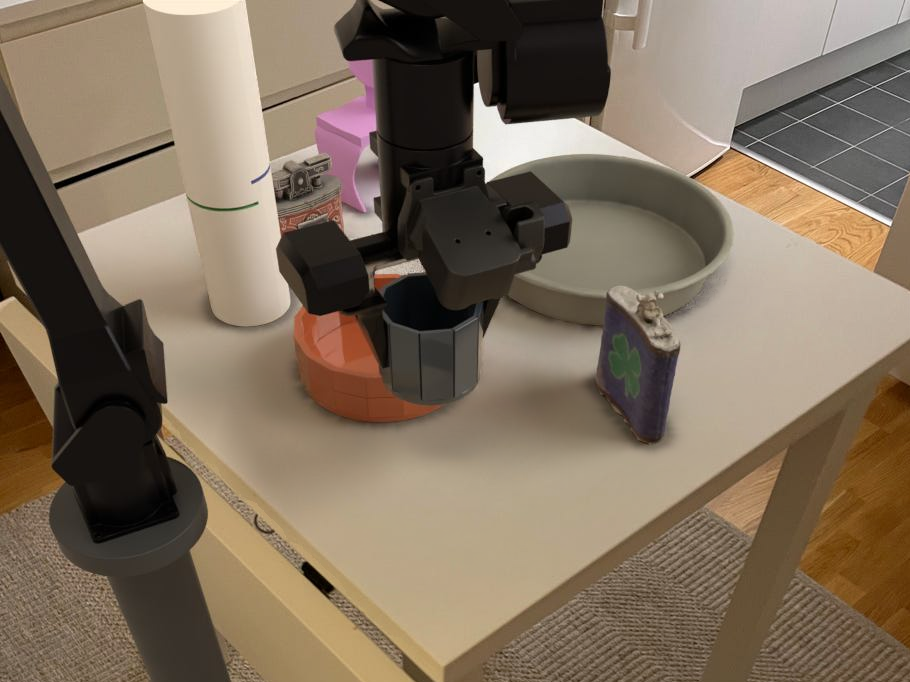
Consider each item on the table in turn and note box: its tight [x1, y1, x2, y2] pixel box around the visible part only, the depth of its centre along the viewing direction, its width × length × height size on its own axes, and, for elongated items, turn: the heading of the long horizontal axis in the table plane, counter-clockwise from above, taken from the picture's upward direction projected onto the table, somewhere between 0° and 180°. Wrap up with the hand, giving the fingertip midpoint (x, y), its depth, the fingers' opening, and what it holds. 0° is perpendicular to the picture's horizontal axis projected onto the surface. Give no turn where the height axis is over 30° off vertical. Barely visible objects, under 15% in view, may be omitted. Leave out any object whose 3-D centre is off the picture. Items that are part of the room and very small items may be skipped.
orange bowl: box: [293, 273, 444, 423], centre depth 83 cm, size 14×14×4 cm
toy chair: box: [314, 60, 379, 214], centre depth 97 cm, size 8×9×15 cm
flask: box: [594, 286, 681, 446], centre depth 78 cm, size 9×3×11 cm, turn 24°
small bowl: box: [379, 271, 484, 406], centre depth 70 cm, size 7×8×6 cm
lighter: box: [271, 153, 345, 287], centre depth 90 cm, size 8×3×10 cm, turn 130°
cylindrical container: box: [142, 0, 291, 327], centre depth 81 cm, size 7×7×25 cm
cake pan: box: [489, 153, 735, 326], centre depth 94 cm, size 25×25×4 cm
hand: (430, 350), depth 71 cm, fingers closed on small bowl, 7 cm apart
